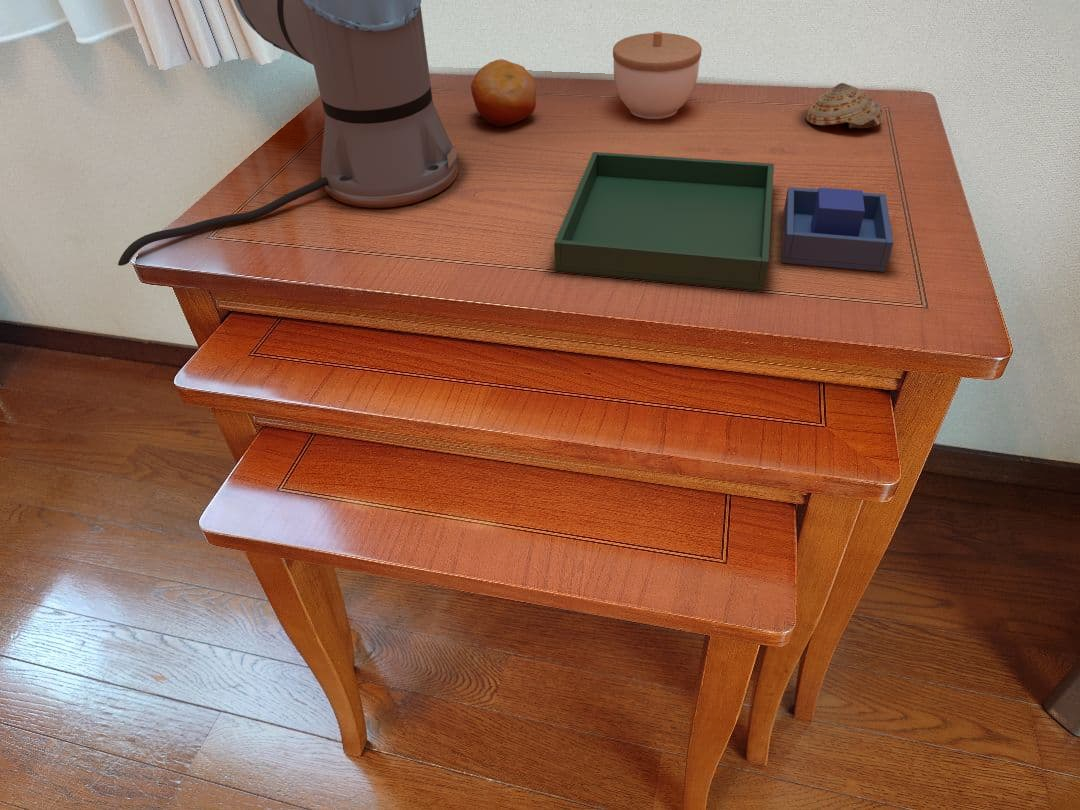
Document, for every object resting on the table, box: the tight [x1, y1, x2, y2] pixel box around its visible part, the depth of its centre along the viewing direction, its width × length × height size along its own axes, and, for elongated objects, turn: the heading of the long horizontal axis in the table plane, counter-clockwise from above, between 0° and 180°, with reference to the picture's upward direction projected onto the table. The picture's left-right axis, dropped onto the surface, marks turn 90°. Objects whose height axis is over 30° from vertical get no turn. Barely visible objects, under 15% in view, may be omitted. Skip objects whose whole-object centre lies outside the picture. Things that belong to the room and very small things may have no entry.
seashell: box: [805, 82, 884, 129], centre depth 97 cm, size 8×6×8 cm
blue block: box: [811, 187, 865, 237], centre depth 76 cm, size 4×4×4 cm
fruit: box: [470, 58, 537, 128], centre depth 100 cm, size 8×8×8 cm
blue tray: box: [781, 186, 894, 273], centre depth 76 cm, size 9×9×3 cm
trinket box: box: [612, 31, 703, 120], centre depth 100 cm, size 11×11×9 cm
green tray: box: [553, 151, 775, 292], centre depth 80 cm, size 19×19×3 cm
